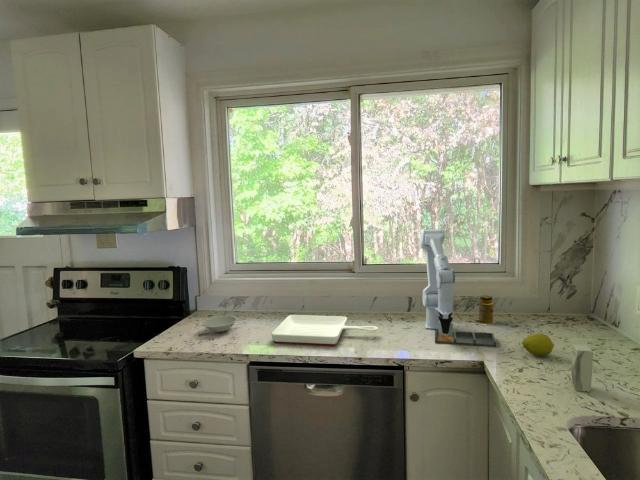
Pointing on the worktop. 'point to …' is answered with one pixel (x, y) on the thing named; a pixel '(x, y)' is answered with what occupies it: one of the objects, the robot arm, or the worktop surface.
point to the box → (581, 368)
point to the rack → (467, 338)
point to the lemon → (538, 345)
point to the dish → (220, 323)
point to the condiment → (485, 311)
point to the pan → (313, 330)
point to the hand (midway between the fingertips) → (445, 330)
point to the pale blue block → (448, 332)
